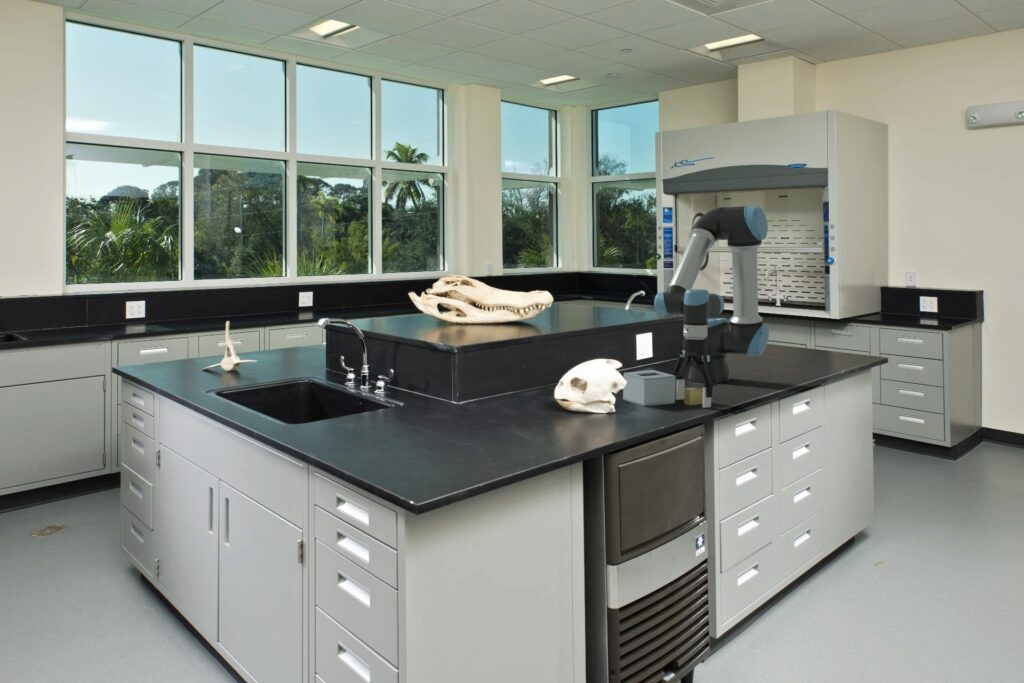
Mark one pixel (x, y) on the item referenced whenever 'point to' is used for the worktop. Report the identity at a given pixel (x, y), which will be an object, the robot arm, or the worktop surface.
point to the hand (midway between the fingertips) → (693, 403)
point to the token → (693, 396)
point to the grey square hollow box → (649, 388)
